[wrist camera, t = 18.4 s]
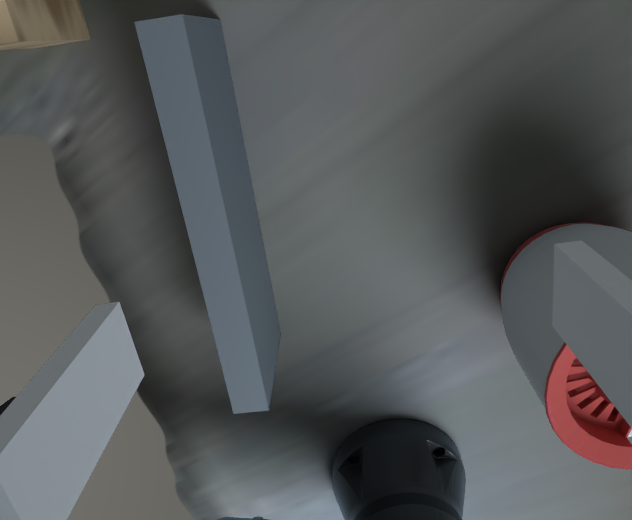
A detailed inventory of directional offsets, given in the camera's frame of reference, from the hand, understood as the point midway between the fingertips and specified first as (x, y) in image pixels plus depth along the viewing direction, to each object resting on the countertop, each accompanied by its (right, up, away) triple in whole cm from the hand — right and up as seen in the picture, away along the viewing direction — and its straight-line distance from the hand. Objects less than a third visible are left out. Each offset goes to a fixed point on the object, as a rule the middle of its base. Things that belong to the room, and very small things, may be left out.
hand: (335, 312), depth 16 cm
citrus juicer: (+24, -1, +36) cm, 43 cm away
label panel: (-8, +7, +32) cm, 34 cm away
